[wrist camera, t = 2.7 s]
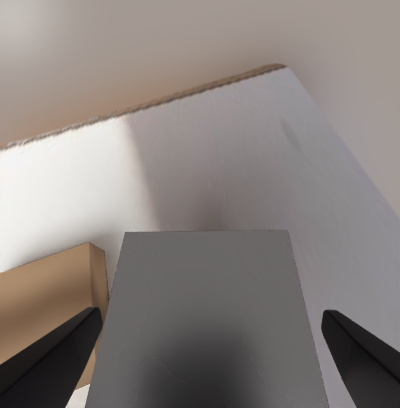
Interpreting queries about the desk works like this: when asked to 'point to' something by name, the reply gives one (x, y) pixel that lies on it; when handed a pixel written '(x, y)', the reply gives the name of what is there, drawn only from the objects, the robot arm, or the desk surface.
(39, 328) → the stand
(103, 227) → the desk surface
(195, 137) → the desk surface
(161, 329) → the block
